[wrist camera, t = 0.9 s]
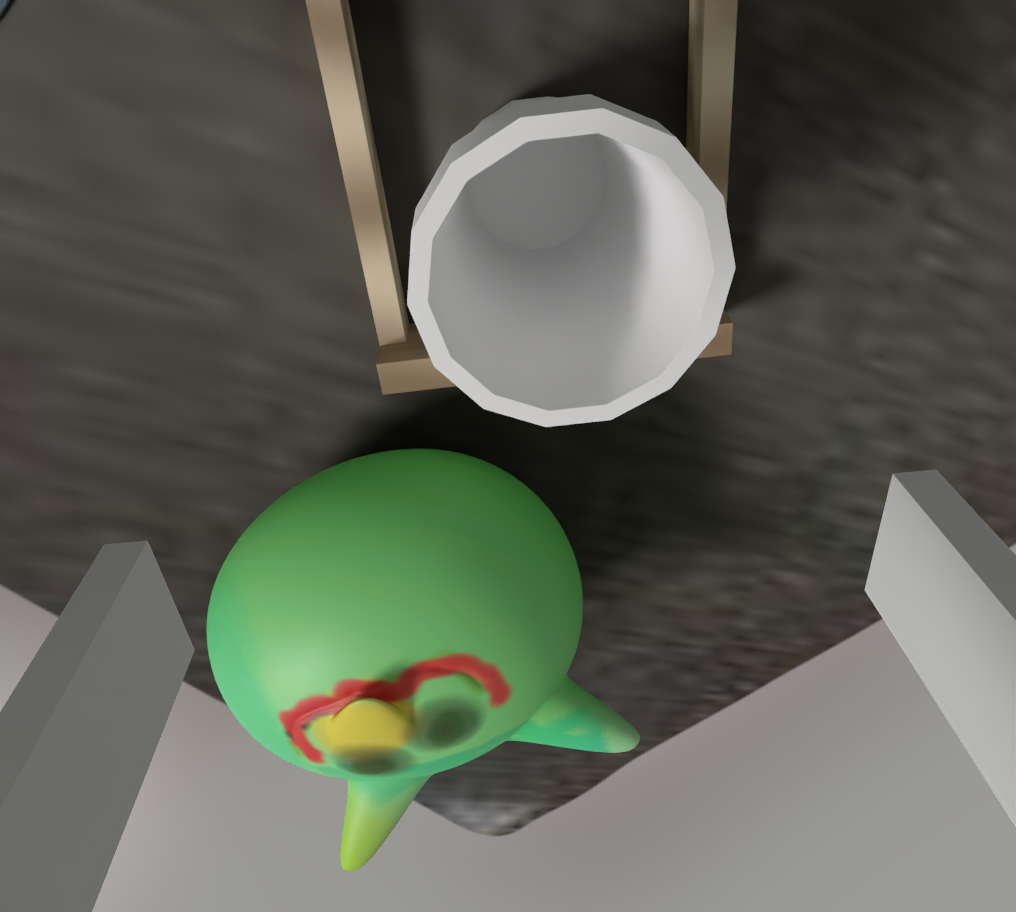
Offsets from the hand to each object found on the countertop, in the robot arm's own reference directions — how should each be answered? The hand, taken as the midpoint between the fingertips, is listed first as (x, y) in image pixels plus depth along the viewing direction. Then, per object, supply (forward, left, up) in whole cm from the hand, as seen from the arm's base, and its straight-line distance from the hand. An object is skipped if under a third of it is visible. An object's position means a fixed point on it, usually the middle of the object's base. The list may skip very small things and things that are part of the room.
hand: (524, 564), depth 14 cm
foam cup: (-1, +2, -24) cm, 24 cm away
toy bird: (+17, -6, -24) cm, 30 cm away
